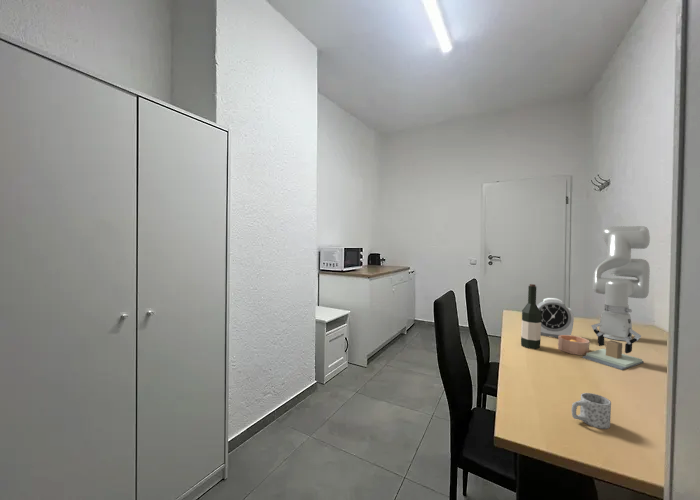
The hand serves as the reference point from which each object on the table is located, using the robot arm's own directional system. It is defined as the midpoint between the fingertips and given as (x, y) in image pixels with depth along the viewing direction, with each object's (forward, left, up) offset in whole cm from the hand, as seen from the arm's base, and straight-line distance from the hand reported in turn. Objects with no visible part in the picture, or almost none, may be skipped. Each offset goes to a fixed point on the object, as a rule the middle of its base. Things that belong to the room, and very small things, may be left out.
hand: (614, 348), depth 133 cm
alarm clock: (-10, -32, -5) cm, 34 cm away
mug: (+62, +21, -5) cm, 66 cm away
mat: (+1, 0, -5) cm, 5 cm away
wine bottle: (+17, -26, -5) cm, 31 cm away
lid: (0, 0, -4) cm, 4 cm away
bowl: (+4, -14, -5) cm, 15 cm away
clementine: (+4, -14, -2) cm, 15 cm away
